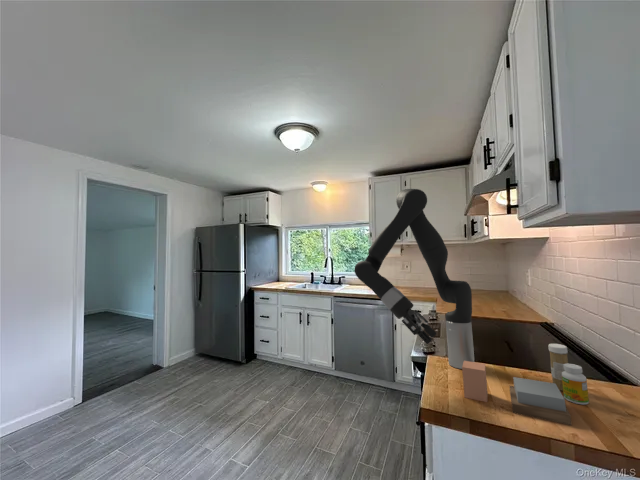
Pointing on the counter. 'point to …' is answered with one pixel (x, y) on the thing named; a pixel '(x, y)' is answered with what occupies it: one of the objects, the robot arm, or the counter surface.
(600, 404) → the counter surface
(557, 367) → the sprinkles bottle
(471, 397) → the terracotta block
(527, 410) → the walnut slab
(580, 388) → the supplement bottle
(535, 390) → the grey slab
